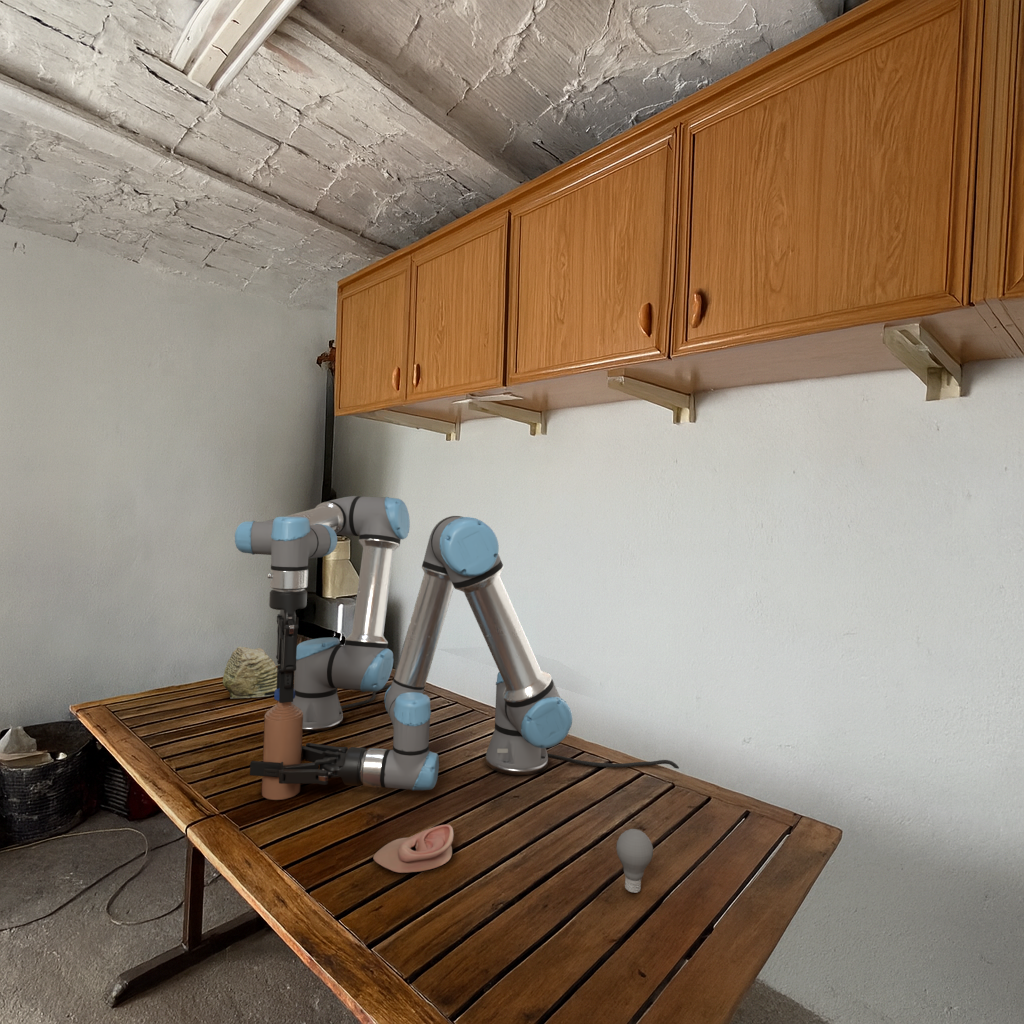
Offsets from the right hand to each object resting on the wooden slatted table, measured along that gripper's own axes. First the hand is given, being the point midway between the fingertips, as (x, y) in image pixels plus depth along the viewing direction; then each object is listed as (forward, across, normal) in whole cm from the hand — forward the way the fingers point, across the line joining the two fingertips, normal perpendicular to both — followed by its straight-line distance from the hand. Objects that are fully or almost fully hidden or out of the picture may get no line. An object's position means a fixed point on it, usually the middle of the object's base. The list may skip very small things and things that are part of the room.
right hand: (260, 759), depth 136 cm
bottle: (-5, 0, -6) cm, 8 cm away
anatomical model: (-38, -20, -6) cm, 44 cm away
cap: (-5, 0, +15) cm, 16 cm away
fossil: (+30, +61, -6) cm, 68 cm away
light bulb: (-76, -26, -6) cm, 81 cm away
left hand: (-5, 0, +14) cm, 14 cm away
